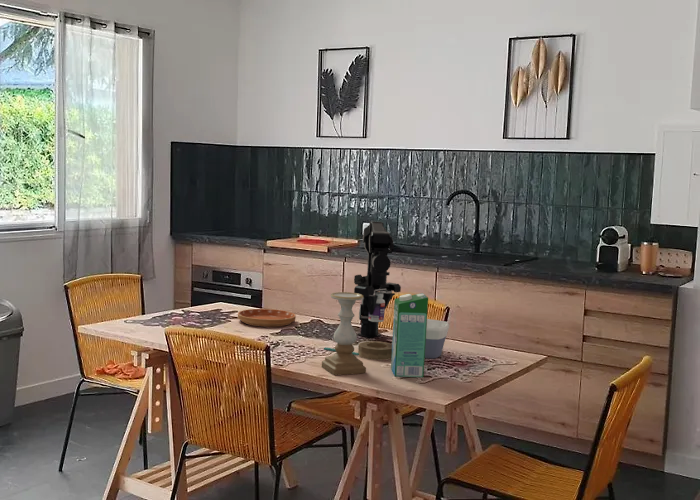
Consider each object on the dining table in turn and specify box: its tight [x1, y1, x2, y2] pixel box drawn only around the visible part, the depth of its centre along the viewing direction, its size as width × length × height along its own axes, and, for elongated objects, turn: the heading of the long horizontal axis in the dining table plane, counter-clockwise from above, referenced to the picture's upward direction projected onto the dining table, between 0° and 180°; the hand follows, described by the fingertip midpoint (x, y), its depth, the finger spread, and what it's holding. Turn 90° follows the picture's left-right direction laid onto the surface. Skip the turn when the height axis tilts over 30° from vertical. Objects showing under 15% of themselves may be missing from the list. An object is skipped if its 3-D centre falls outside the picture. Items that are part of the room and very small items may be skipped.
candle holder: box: [321, 291, 367, 376], centre depth 252 cm, size 11×11×24 cm
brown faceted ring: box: [357, 340, 392, 361], centre depth 274 cm, size 12×12×4 cm
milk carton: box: [390, 292, 429, 378], centre depth 252 cm, size 9×9×25 cm
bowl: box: [425, 318, 450, 360], centre depth 279 cm, size 15×15×11 cm
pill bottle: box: [369, 291, 386, 323], centre depth 280 cm, size 5×5×10 cm
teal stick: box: [323, 347, 359, 356], centre depth 276 cm, size 14×1×1 cm, turn 63°
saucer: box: [237, 308, 297, 328], centre depth 321 cm, size 23×23×4 cm
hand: (376, 313), depth 280 cm, fingers closed on pill bottle, 5 cm apart
